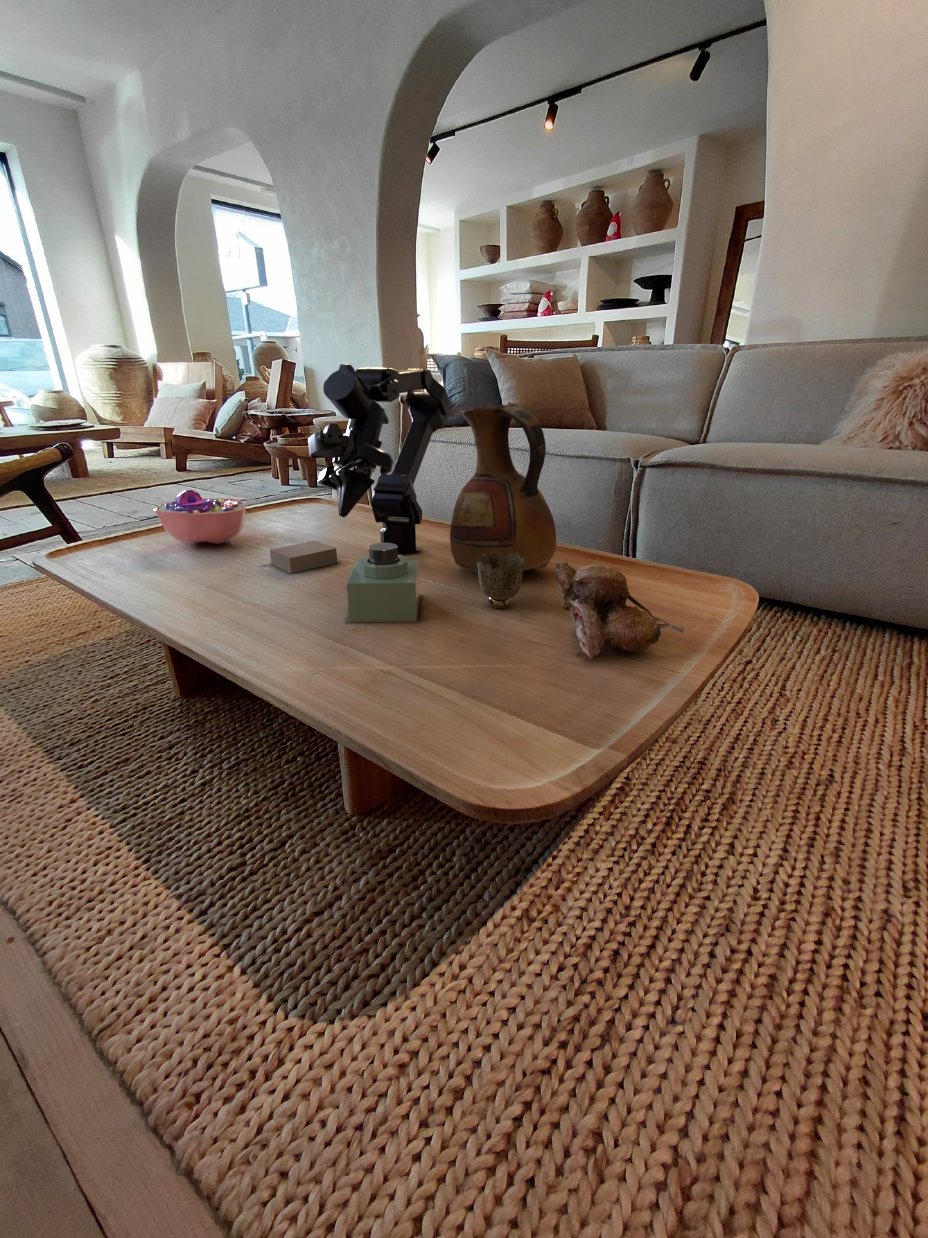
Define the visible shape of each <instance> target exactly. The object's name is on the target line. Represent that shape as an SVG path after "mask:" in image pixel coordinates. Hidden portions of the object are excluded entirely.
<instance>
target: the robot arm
mask: <svg viewBox="0 0 928 1238" xmlns="http://www.w3.org/2000/svg"><path fill="white" fill-rule="evenodd" d="M322 390H323V394H324V395H325V397H326V398H327V399H328V400H329V401H330V402H331V404H332V405H333V406H334V407H335V409H337V411H338V412H339V413H340V414H341V416H343V417H344V418H346V419H348V424H347V428H346V431H345V433H344V432H343V431H342V429H341V427H340V425H339V423H335V422H334V423H333V422H329V423H328V424H327V425H326V426H325V428H324V429H323V430H322V429H320V430H319V431H316V432H314V433H313V434H311V435H310V436H309V437H308V438H307V442H308V452H309V458H311V459H318V458H320V459H321V458H322V459H332V462H331V463H332V464H335V465H337V466H335V465H330V466H328V467H326V468H324V469H323V470H322V471H320V472H319V475H318V479H317V483H318V484H319V485H322V486H325V487H326V488H329V489H331V490H334V491H336V492H337V509H338V510H337V511H338V516H339V517H340V518H346V517H347V516H348V515H349V514H350V513H351V511H352V510H353V509H354V508H355V506H356V505H357V504H358V503H359V501H360V500H361V499H362V498H363V496H365V494H366V493H367V492H368V490H369V489H370V488H371V487H372V486H373V485H374V484H375V482H376V480H375V479H373V478H372V475H373V473H375V471H376V469H377V467H380V469H379V473H380V475H379V476H378V478H377V482H376V484H375V486H374V487H373V493H372V495H371V498H370V507H371V509H372V515H373V517H374V521H375V523H377V524H379V523H381V525H382V528H380V529H379V532H380V543H393V544H396V545H397V546H398V554H399V555H407V554H416V553H420V549H419V548H418V547H417V535H416V533H417V531H416V525H420V524H422V519H423V510H422V509H423V508H421V506H420V504H419V502H418V500H417V499H418V498H417V497H418V496H417V493H416V489H415V487H414V485H415V481H416V479H417V476H418V474H419V470H420V468H421V466H422V463H423V461H424V458H425V455H426V452H427V449H428V447H429V444H430V441H431V439H432V436H433V433H436V432H437V431H438V430H440V429H441V428H442V427H444V425H445V423H446V421H447V419H448V418H449V415H450V414H451V409H452V406H451V405H452V404H451V403H452V402H451V400H450V398H449V395H448V392H447V390H446V388H445V387H444V386H443V385H442V384H441V383H440V382H439V381H438V380H436V379H435V378H434V376H433V374H432V371H431V370H430V369H427V368H426V367H413V368H412V367H410V368H408V369H403V370H398V369H395V368H392V367H358V368H356V369H355V368H354V367H353V365H352V364H350V363H347V364H346V363H345V364H344V363H341V364H339V367H338V370H336V371H334V372H332V373H331V374H329V376H328V377H327V378H326V379H325V380H324V382H323V387H322ZM416 390H417V391H418V390H425V391H426V392H414V391H416ZM401 393H406V397H405V399H404V400H405V403H406V406H407V407H408V412H409V415H410V418H411V423H410V425H409V429H408V431H407V433H406V436H405V438H404V441H403V444H402V445H401V449H400V451H399V454H398V456H397V459H396V461H395V464H394V460H393V457H392V456H391V454H390V453H389V452H387V451H384V450H382V449H380V448H382V444H383V441H381V440H379V439H380V436H381V432H382V428H383V425H388V424H389V417H388V416H387V413H386V411H385V408H383V407H382V406H381V404H379V403H392V402H394V401H396V400H397V399H398V398H400V394H401ZM393 465H394V467H393Z"/></svg>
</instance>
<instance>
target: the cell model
mask: <svg viewBox="0 0 928 1238" xmlns="http://www.w3.org/2000/svg"><path fill="white" fill-rule="evenodd" d="M246 509H247V503H246V502H245V501H243V500H240V499H237V498H213V497H212V498H202V496H201V495H200V493H199V492H197V491H195V490H192V489H186V490H183V491H182V492H180V493H179V494H178V495H177V496H176V498H175V500H174V501H171V502H167V503H163V504H161V505H158V506H157V507H156V508H154V509H153V511H154V513H155V514H156V515H157V517H158V519H159V520H160V523H161V527H162V528H163V529H164V530H165V531H166V532H167V533H168V534H169V535H170V536H171V537H172V538H173V539H175V540H176V541H179V542H181V543H185V544H208V543H211V544H217V545H218V544H223V543H226V542H227V541H231V540H233V539H234V538H236V537H238V536H239V535H240V534H241V532H242V531H243V529H244V526H245V523H246V517H247V516H246Z"/></svg>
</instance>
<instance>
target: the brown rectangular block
mask: <svg viewBox="0 0 928 1238" xmlns="http://www.w3.org/2000/svg"><path fill="white" fill-rule="evenodd" d="M269 555H270V564H271V565H272V566H274V567H276V568H278V569H281V570H282V571H285V572H286V573H289V574H296V573H301V572H304V571H308V570H313V569H318V568H321V567H326V566H330V565H334V564H338V552H337V548H336V547H334V546H331V545H329V544H326V543H323V542H320V541H317V540H312V541H311V540H310V541H307V542H301V543H296V544H292V545H291V544H290V545H286V546H281V547H276V548H271V549H269Z"/></svg>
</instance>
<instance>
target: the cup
mask: <svg viewBox="0 0 928 1238" xmlns="http://www.w3.org/2000/svg"><path fill="white" fill-rule="evenodd" d="M524 563H525V559H524V557H523V558H522V559H521V557H520V555H519V554H516V555H515V556H514V555H513V554H512V553H510V554H509V556H508V558H507V557H502V556H501V553H500V552H499V553H498V554H497V555H496V554H495V552H493V551H492V552H491V553H490V554H489V556H487V555H486V553H484V555H483V558H482V557H481V555H479V558H478V557H477V566H478V571H477V573H478V574H477V576H478V583H479V587H480V590H481V592H482V593H483V595H485V597H487V598H488V599H487V602H488V605H489V606H490V607H491V608H494V609H501V610H503V609H507V608H508V607H510V605H511V604H512V599H513V597H515V596H516V595H517V594H518V592H519V590H520V588H521V584H522V580H523V573H524V571H523V568H524Z"/></svg>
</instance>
